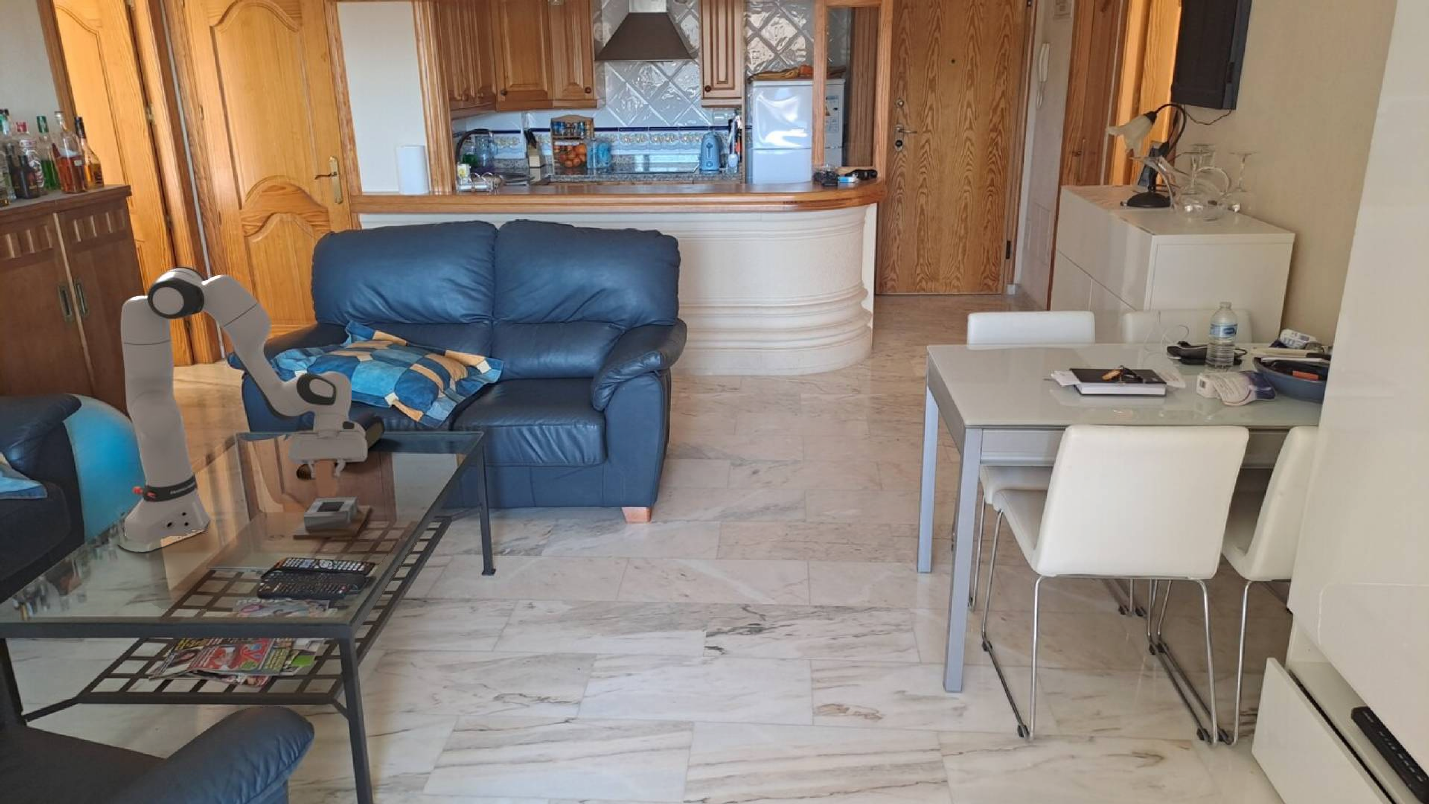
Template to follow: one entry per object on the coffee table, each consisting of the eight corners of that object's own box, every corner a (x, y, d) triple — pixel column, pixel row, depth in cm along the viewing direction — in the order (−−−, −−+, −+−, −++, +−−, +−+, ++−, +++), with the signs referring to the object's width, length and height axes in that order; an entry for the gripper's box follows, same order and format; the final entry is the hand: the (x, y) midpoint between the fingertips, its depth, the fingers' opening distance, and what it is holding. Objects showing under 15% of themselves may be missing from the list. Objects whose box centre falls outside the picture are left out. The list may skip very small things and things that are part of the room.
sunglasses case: (324, 478, 293) (309, 460, 291) (306, 488, 295) (292, 471, 293) (347, 454, 310) (334, 437, 308) (331, 464, 311) (317, 447, 310)
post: (334, 496, 261) (328, 465, 258) (319, 497, 261) (313, 466, 258) (338, 489, 265) (333, 459, 261) (323, 490, 265) (318, 460, 261)
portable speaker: (356, 468, 300) (351, 438, 297) (325, 466, 301) (320, 437, 298) (391, 436, 323) (387, 408, 320) (362, 435, 325) (358, 407, 321)
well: (354, 536, 259) (351, 519, 257) (293, 538, 258) (290, 521, 256) (371, 508, 274) (368, 492, 272) (313, 510, 273) (310, 494, 271)
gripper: (287, 426, 263) (281, 474, 257) (364, 423, 263) (359, 471, 258) (296, 435, 268) (290, 482, 263) (371, 432, 269) (366, 479, 264)
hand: (325, 477), depth 260 cm, fingers closed on post, 4 cm apart
